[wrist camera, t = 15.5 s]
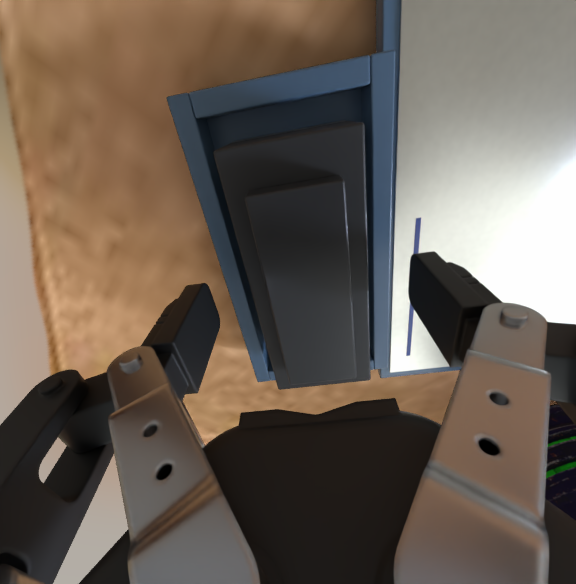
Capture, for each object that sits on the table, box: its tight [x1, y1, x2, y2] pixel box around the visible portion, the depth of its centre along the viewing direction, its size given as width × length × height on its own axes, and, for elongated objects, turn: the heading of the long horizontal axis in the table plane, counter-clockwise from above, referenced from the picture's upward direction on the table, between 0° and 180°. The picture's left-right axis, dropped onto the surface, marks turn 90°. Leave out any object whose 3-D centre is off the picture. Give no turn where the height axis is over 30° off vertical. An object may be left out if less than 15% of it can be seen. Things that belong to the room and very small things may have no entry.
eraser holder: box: [167, 50, 395, 382], centre depth 14 cm, size 15×8×3 cm, turn 9°
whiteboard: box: [376, 0, 576, 378], centre depth 14 cm, size 20×15×1 cm
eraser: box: [214, 120, 371, 390], centre depth 13 cm, size 11×5×5 cm, turn 10°
